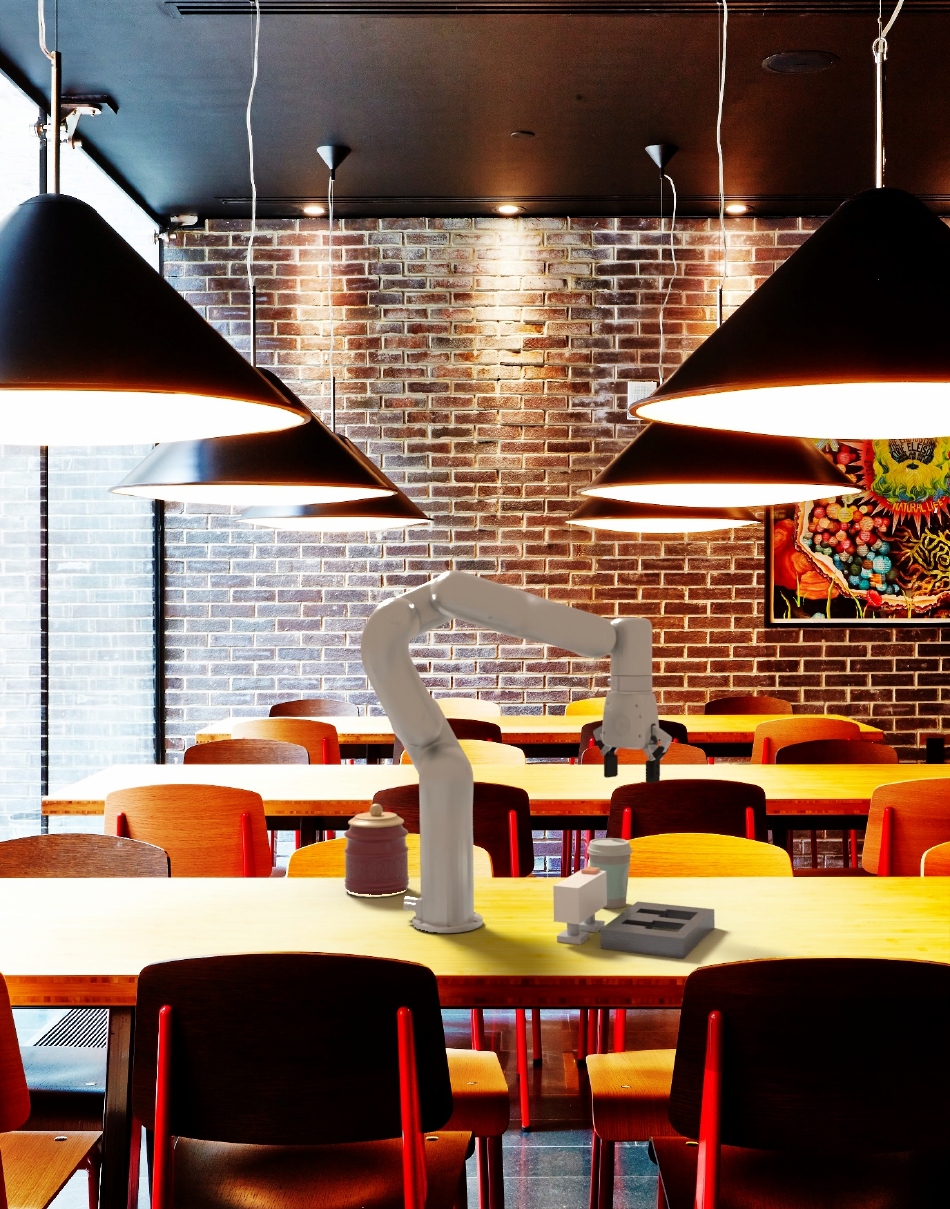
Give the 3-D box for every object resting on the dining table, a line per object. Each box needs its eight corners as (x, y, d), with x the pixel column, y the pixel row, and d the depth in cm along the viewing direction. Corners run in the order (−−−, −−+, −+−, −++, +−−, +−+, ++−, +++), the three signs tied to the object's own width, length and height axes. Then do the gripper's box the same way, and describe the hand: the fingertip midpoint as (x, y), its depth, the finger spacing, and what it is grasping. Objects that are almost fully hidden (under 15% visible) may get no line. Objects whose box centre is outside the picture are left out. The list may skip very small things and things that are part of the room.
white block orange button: (554, 943, 186) (553, 882, 187) (583, 922, 199) (582, 865, 199) (579, 946, 184) (578, 884, 185) (607, 925, 197) (606, 867, 197)
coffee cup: (631, 911, 206) (630, 846, 207) (585, 909, 208) (584, 845, 208) (634, 900, 215) (633, 838, 215) (590, 898, 216) (589, 836, 217)
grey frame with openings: (600, 948, 183) (600, 929, 183) (637, 919, 201) (637, 901, 201) (683, 958, 177) (683, 938, 177) (714, 927, 195) (714, 909, 195)
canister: (414, 884, 230) (413, 799, 231) (401, 899, 217) (400, 809, 218) (353, 883, 232) (353, 798, 233) (337, 898, 219) (336, 808, 220)
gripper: (581, 684, 205) (581, 776, 205) (656, 688, 193) (656, 786, 192) (608, 682, 211) (608, 773, 210) (682, 686, 198) (682, 782, 197)
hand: (631, 779), depth 201 cm, fingers open, 9 cm apart
